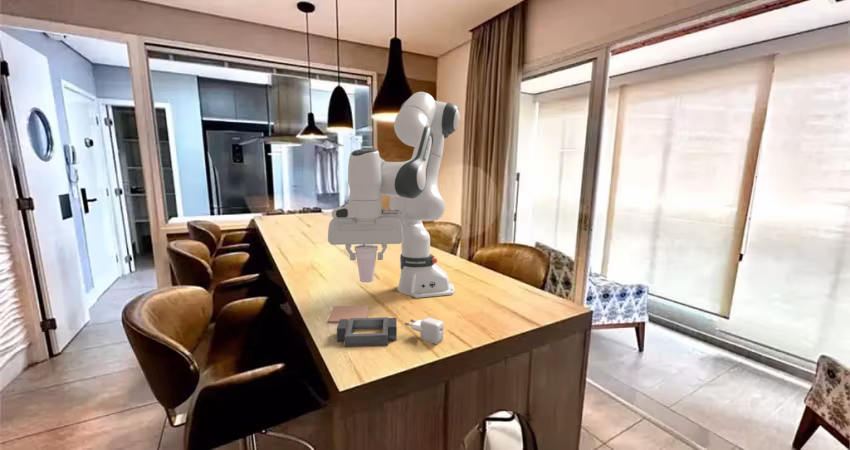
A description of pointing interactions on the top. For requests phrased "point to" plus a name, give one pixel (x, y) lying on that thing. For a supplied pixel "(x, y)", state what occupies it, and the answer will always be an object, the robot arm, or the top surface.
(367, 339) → the grey rectangular frame
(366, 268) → the smoothie
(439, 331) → the power adapter
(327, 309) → the top surface
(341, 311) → the coaster
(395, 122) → the robot arm
